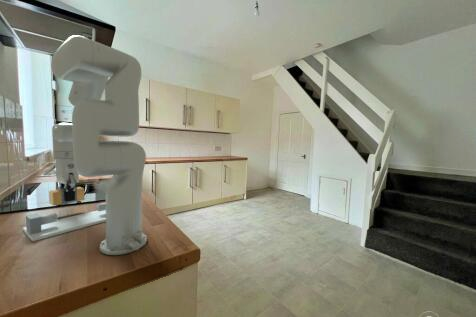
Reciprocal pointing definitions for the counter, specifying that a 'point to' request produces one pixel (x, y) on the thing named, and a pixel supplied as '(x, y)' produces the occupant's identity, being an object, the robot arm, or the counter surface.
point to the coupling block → (59, 197)
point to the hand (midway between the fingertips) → (67, 199)
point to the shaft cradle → (61, 223)
